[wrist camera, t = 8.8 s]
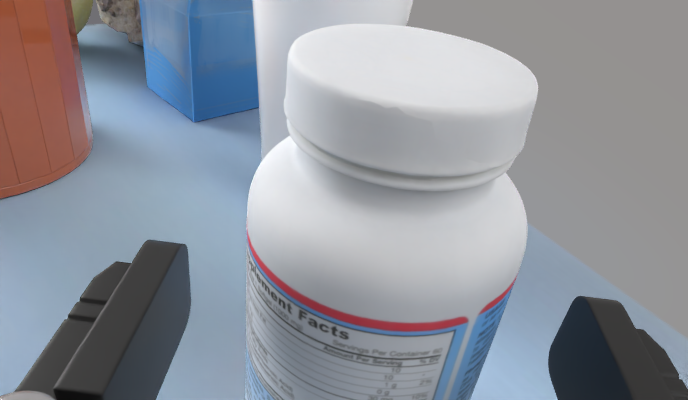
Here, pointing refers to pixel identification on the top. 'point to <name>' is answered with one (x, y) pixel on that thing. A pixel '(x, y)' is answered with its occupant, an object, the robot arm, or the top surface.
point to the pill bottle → (385, 217)
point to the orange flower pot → (40, 95)
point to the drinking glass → (288, 25)
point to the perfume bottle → (201, 55)
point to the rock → (122, 17)
